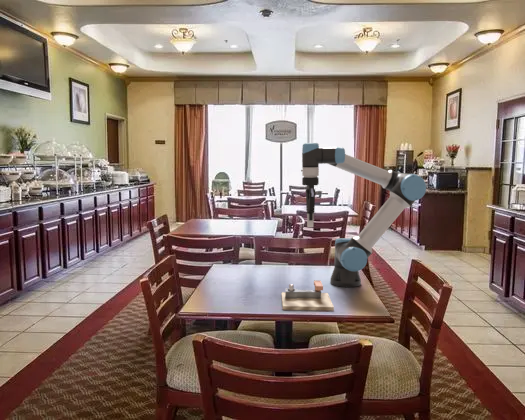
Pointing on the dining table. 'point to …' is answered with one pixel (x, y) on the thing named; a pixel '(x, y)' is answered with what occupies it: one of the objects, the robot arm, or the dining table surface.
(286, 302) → the board
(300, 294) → the link
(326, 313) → the dining table surface
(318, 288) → the keeper
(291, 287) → the pintle
